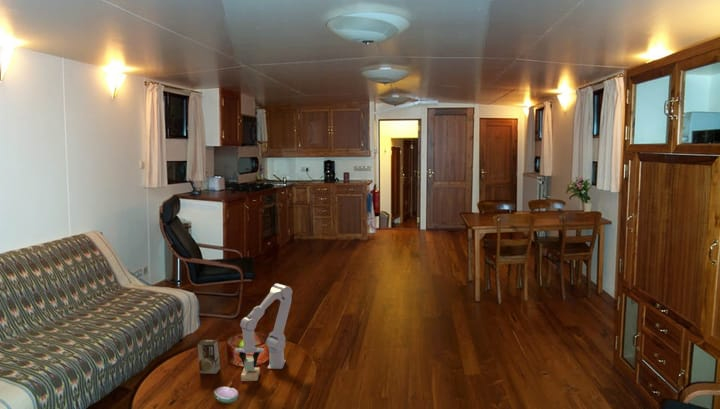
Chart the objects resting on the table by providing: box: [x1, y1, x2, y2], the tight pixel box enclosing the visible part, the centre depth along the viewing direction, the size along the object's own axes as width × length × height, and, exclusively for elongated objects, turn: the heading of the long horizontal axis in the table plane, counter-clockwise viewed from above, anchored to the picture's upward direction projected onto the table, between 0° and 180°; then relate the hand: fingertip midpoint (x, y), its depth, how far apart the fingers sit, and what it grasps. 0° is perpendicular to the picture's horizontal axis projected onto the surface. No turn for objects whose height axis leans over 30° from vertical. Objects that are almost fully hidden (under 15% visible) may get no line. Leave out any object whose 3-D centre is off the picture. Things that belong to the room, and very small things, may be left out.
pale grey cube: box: [243, 356, 255, 371], centre depth 255 cm, size 5×5×5 cm
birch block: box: [240, 366, 261, 382], centre depth 256 cm, size 8×8×4 cm
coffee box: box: [197, 339, 221, 375], centre depth 263 cm, size 9×6×16 cm
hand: (250, 366), depth 256 cm, fingers closed on pale grey cube, 5 cm apart
